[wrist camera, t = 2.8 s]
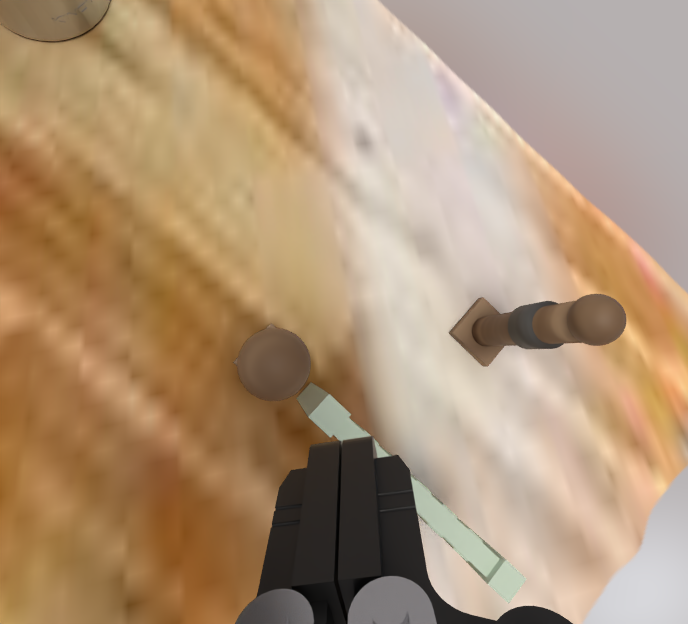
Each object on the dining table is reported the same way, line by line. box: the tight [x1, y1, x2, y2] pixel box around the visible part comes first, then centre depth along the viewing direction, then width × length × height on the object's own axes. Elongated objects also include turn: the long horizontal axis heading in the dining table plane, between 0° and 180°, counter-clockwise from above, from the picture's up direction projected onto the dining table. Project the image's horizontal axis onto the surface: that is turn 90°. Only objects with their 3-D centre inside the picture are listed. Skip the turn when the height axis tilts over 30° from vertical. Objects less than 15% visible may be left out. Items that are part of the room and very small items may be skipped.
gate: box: [296, 383, 526, 603], centre depth 28 cm, size 15×2×10 cm, turn 47°
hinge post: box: [233, 323, 311, 401], centre depth 26 cm, size 4×4×15 cm
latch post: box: [449, 294, 626, 366], centre depth 30 cm, size 4×4×15 cm
